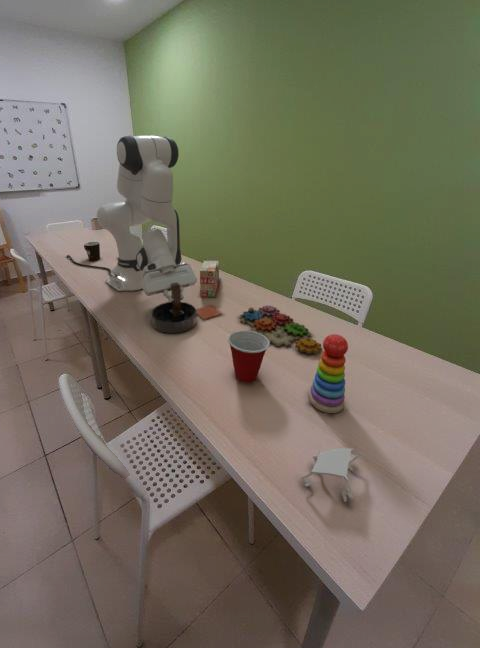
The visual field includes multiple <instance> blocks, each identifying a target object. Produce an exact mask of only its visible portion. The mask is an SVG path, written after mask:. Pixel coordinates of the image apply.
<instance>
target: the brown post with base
mask: <svg viewBox="0 0 480 648" xmlns="http://www.w3.org/2000/svg"><path fill="white" fill-rule="evenodd" d="M170 292H171V296H173V298H174V302H172V310H169V315H170V318H171V319H172V320H173V321H174V322H180V321H184V320H185V313H184V312H183V311H182V310H181V302H182V300H181V299H180V284H178V283H172V284H171V291H170Z"/></svg>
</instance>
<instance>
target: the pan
mask: <svg viewBox="0 0 480 648" xmlns="http://www.w3.org/2000/svg"><path fill="white" fill-rule="evenodd" d="M196 309H197V308H196V306H194V305H192V304H191V303H188V302H184V301H181V310H182V311H183V312H184V313H185V320H184V321H180V322H174V321H173V320H172V319H171V318H170V315H169V310H172V302H171V303H170V302H169V301H167V302H163V303H161V304H159V305H157V306H155V307H154V308H153V309H152V310H151V313H150V314H151V323H152V327H154V328H155V330H158V331H160V332H163V333H167V334H179V333H184V332H186V331H188V330H190V329H191V328H193V327H195V325H196V324H197V319H198V318H197V316H198V315H197V313H196Z"/></svg>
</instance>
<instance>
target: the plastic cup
mask: <svg viewBox="0 0 480 648" xmlns="http://www.w3.org/2000/svg"><path fill="white" fill-rule="evenodd" d="M227 342H228V344H229V347H230V351H231V358H232V366H233V369H234V375H235V378H236V380H237V381H239V382H242V383H244V384H249V383H253V382H256V380H257V378H258V375H259V371H260V369H261V366H262V363H263V359H264V356H265V355H266V352H267V350H268V349H269V347H270V344H271V343H270V342H269V340H268V339H267V337H265V336H264V335H262V334H260V333H259V332H254V331H252V330H248V329H244V330H236V331H233V332H231V333H230V334H228V336H227Z"/></svg>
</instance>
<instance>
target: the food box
mask: <svg viewBox="0 0 480 648" xmlns="http://www.w3.org/2000/svg"><path fill="white" fill-rule="evenodd" d="M219 280H220V261H219V260H203V263H202V265H201V267H200V270H199V288H200V289H199V290H200V291H199V294H200V295H199V296H200V297H202V298H204V297H205V298H215V296H216V293H217V288H218V283H219Z"/></svg>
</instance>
